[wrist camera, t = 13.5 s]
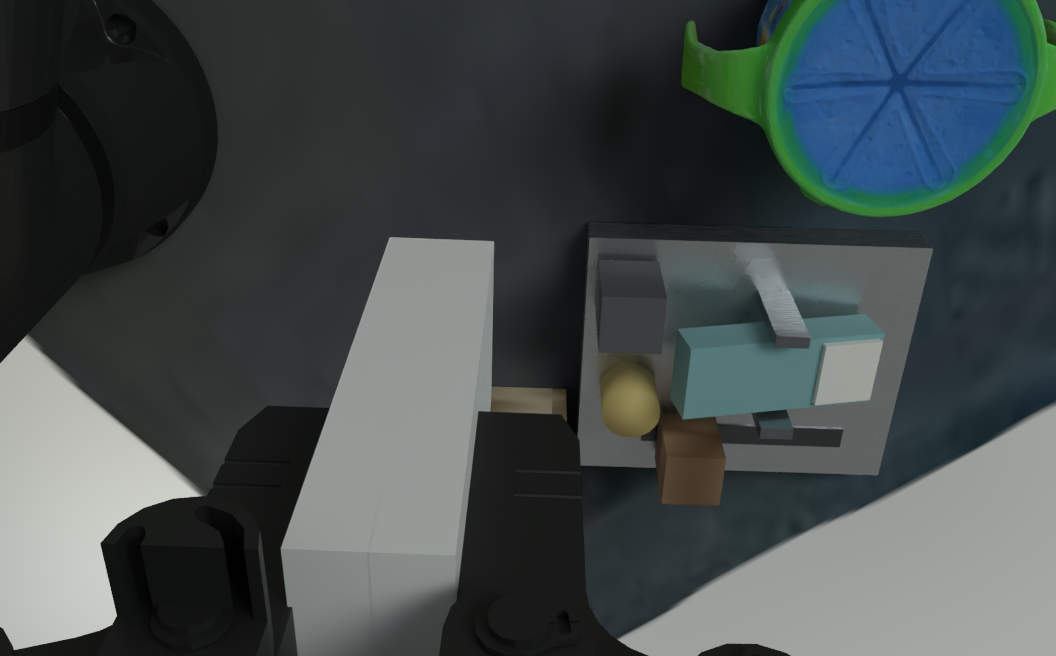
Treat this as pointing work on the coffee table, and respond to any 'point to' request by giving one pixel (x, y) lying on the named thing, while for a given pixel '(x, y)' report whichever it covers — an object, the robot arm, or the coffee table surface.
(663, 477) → the brown rectangular block
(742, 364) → the block
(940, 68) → the snack cup
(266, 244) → the coffee table surface
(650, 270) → the dark grey block
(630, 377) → the ochre button
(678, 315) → the panel
